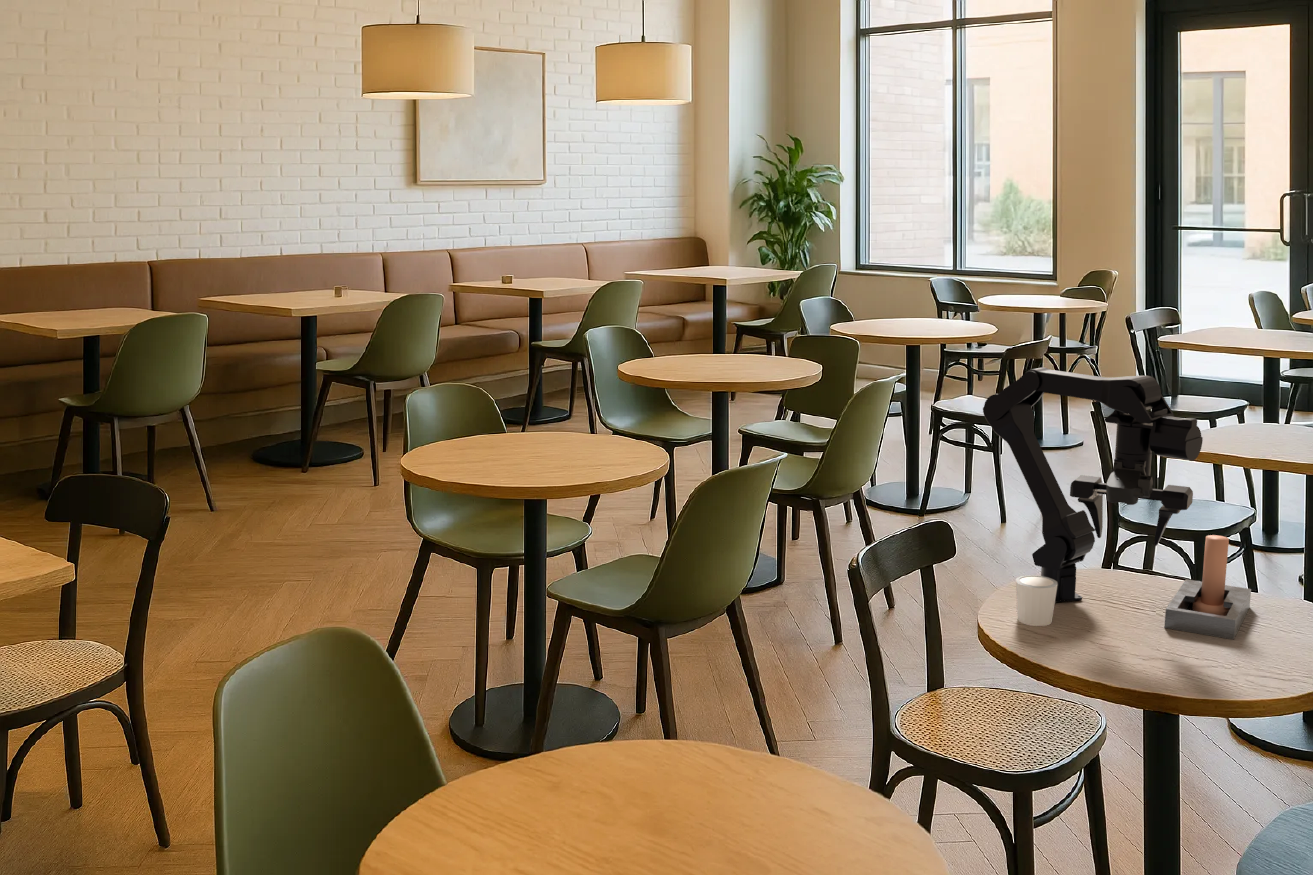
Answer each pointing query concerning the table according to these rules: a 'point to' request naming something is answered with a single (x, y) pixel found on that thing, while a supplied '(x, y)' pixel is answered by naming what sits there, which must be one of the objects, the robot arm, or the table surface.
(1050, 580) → the white cup
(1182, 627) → the keyhole plate
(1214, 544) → the peg
